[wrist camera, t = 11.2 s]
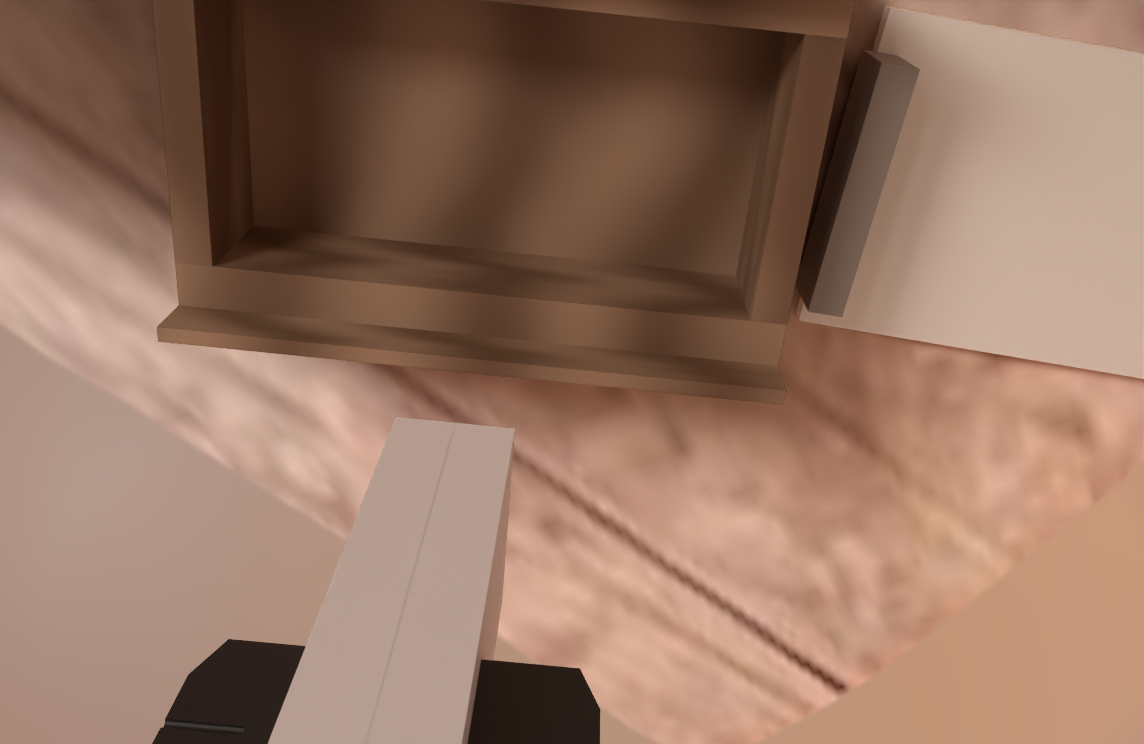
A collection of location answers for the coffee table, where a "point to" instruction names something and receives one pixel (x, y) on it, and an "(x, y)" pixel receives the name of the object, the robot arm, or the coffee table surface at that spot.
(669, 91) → the walnut box
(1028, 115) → the cover plate
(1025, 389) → the coffee table surface
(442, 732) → the robot arm
